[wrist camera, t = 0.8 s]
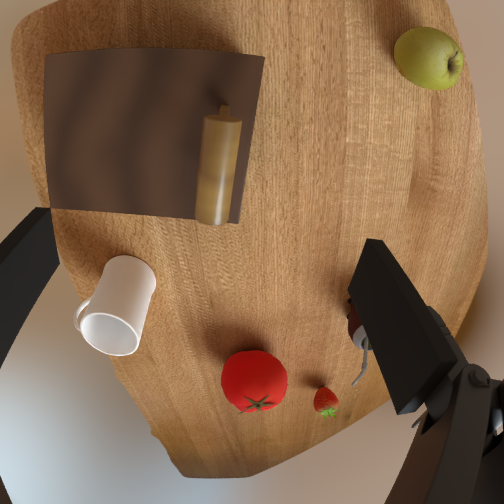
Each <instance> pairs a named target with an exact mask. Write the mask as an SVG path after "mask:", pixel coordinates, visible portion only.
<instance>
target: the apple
mask: <svg viewBox="0 0 504 504" xmlns="http://www.w3.org/2000/svg"><path fill="white" fill-rule="evenodd" d="M394 59H395V62H396V65H397V68H398V70H399V72H400V73H401V74H402V75H403V76H404V77H405V78H406V79H407V80H409V81H411V82H412V83H414V84H415V85H417V86H420V87H423V88H426V89H430V90H444V89H447V88H450V87H452V86H454V84H455V83H456V82H457V79H458V76H459V74H460V72H461V70H462V66H463V55H462V52H461V50H460V47H459V46H458V44H457V43H456V42H455V41H454V40H453V39H452V38H451V37H450V36H449V35H447V34H446V33H444V32H442V31H440V30H438V29H435V28H431V27H418V28H413V29H411V30H408V31H407V32H405V33H403V34H402V35H401V36H400V37H399V39H398V40H397V41H396V43H395V46H394Z"/></svg>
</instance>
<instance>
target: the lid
mask: <svg viewBox="0 0 504 504" xmlns="http://www.w3.org/2000/svg"><path fill="white" fill-rule="evenodd" d="M264 60H265V57H262V56H256V55H248V54H241V53H232V52H223V51H212V50H199V49H182V48H114V49H97V50H84V51H74V52H65V53H57V54H50V55H46V58H45V74H44V144H45V160H46V173H47V183H48V192H49V201H50V208H55V209H70V210H85V211H98V212H112V213H124V214H137V215H149V216H160V217H172V218H183V219H194V220H197V221H198V222H200V223H202V224H205V225H211V226H217V225H222V224H225V223H235V224H239V219H240V212H241V205H242V198H243V192H244V185H245V179H246V172H247V166H248V159H249V153H250V146H251V140H252V134H253V127H254V121H255V115H256V109H257V102H258V96H259V90H260V84H261V78H262V72H263V66H264Z"/></svg>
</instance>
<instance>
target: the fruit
mask: <svg viewBox="0 0 504 504" xmlns="http://www.w3.org/2000/svg"><path fill="white" fill-rule="evenodd" d="M314 408H315V410H316V411H317V412H318V413H319V414H324V415H323V417H324V419H325V418H326V416H327V414H328V415H329V417H330V415H332V416H333V417H335V414H334V413H332V412H334V411H338V410H337V408H338V399H337V397H336V395H335V394H334V393H333V392H332V391H331V390H330V389H328V388H326V387H321V388H319V389H318V391H317V392H316V395H315V397H314Z"/></svg>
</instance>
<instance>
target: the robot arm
mask: <svg viewBox="0 0 504 504" xmlns="http://www.w3.org/2000/svg"><path fill="white" fill-rule="evenodd" d="M59 264H60V262H59V257H58V252H57V247H56V241H55V236H54V230H53V223H52V217H51V210H50V208H41V207H36V208H35V209H34V210H32V211H31V212H30V213H29V214H28V216H26V217H25V218H24V220H22V221H21V222H20V223H19V224H18V225H17V226H16V228H15V229H14V230H13V231H12V232H11V233H10V234H9V235H8V236H7V237H6V238H5V239H4V240H3V241H2V242H1V243H0V368H1V366H2V364H3V362H4V360H5V358H6V356H7V354H8V352H9V350H10V348H11V346H12V344H13V342H14V340H15V338H16V336H17V334H18V333H19V330H20V329H21V327H22V325H23V323H24V322H25V320H26V318H27V316H28V315H29V313H30V311H31V309H32V308H33V306H34V304H35V302H36V301H37V299H38V297H39V296H40V294H41V293H42V291H43V289H44V288H45V286H46V284H47V283H48V281H49V280H50V278H51V276H52V275H53V273H54V272H55V270H56V269H57V267H58V266H59ZM348 292H349V295H350V297H351V299H352V302H353V304H354V306H355V309H356V311H357V313H358V316H359V318H360V320H361V323H362V325H363V327H364V330H365V332H366V335H367V337H368V340H369V342H370V345H371V347H372V350H373V352H374V355H375V357H376V360H377V362H378V365H379V367H380V370H381V373H382V375H383V378H384V380H385V383H386V386H387V388H388V391H389V394H390V396H391V399H392V402H393V405H394V407H395V410H396V413H397V415H401V414H407V413H412V412H415V411H416V410H417V409H418V408H419V407H420V406H421V405H422V404H423V403H424V402H425V405H426V407H427V410H426V411H425V412H424V413H423V414H422V415H421V416H420V417H419V418H418V419H417V420H416V421H415V422H414V424H413V425H412V428H414V427H415V426H416V425H417V424H419V426H418V429H417V432H416V434H415V437H414V439H413V442H412V444H411V447H410V449H409V452H408V454H407V457H406V459H405V461H404V464H403V466H402V468H401V470H400V472H399V475H398V477H397V479H396V481H395V483H394V485H393V487H392V490H391V491H390V494H389V496H388V497H387V499H386V501H385V503H384V504H504V379H503V380H502V381H500V380H493V379H491V378H490V376H489V374H488V373H487V372H486V371H485V370H484V369H483V368H481V367H480V366H478V365H476V364H469V363H468V362H467V360H466V358H465V356H464V355H463V353H462V351H461V349H460V348H459V346H458V344H457V343H456V341H455V339H454V338H453V336H452V335H451V333H450V331H449V329H448V328H447V327H446V324H445V323H444V321H443V320H442V318H441V316H440V315H439V314H438V313H437V312H436V311H435V310H434V309H433V308H432V307H431V306H426V304H425V303H424V301H423V299H422V298H421V296H420V295H419V293H418V292H417V290H416V289H415V287H414V286H413V284H412V283H411V281H410V279H409V278H408V277H407V275H406V274H405V272H404V271H403V269H402V268H401V266H400V265H399V263H398V262H397V260H396V259H395V257H394V256H393V255H392V253H391V252H390V250H389V249H388V248H387V246H386V245H385V243H384V242H383V241H382V240H376V239H369V238H367V239H366V242H365V245H364V248H363V251H362V253H361V256H360V259H359V261H358V264H357V267H356V269H355V272H354V275H353V277H352V280H351V282H350V285H349V287H348ZM502 424H503V432H501V433H500V434H499V435H497V431H496V429H497V428H498V427H499V426H501V425H502ZM0 504H12V502H11V500H10V497H9V495H8V493H7V491H6V489H5V486H4V484H3V481H2V479H1V477H0Z"/></svg>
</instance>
